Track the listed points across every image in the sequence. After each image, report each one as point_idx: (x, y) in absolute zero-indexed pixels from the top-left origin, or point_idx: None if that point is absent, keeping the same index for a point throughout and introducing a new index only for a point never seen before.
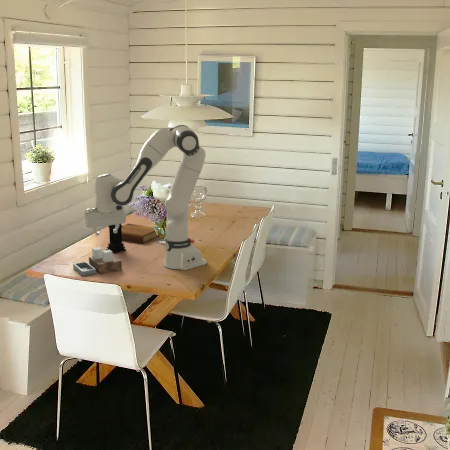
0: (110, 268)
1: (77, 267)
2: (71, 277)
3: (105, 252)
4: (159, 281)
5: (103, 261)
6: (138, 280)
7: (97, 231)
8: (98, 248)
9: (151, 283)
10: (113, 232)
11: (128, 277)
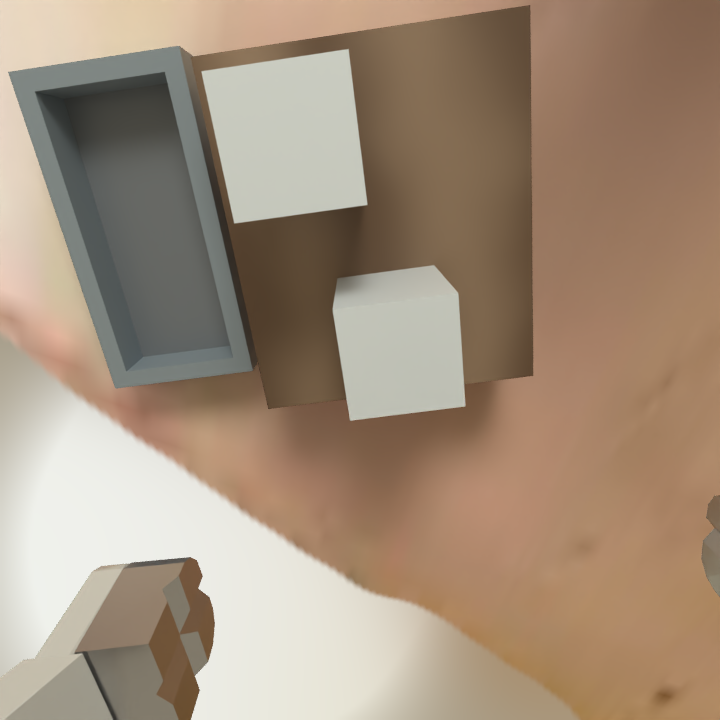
0: None
1: (66, 241)
2: (37, 355)
3: (364, 403)
4: (642, 643)
5: None
6: (527, 587)
7: (133, 660)
8: (306, 154)
9: (579, 655)
10: (713, 501)
11: (486, 515)
